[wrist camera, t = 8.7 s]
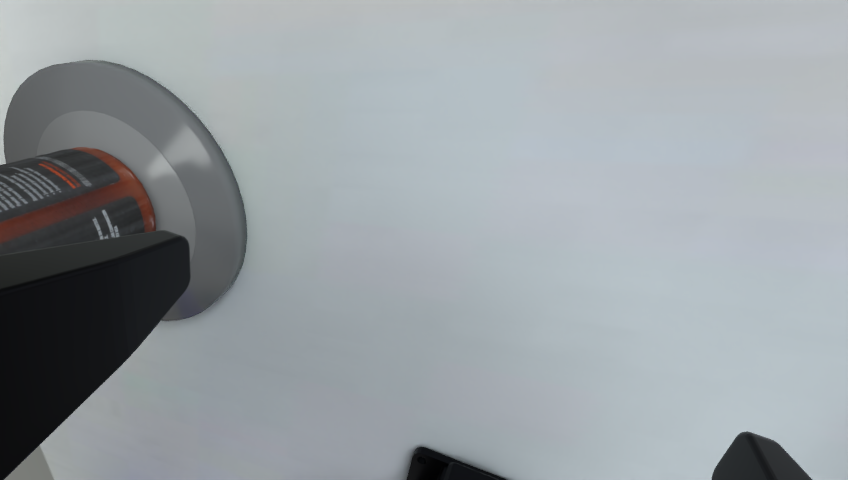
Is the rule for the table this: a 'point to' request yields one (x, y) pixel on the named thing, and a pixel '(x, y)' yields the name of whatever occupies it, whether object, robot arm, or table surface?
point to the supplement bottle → (70, 200)
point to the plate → (141, 159)
